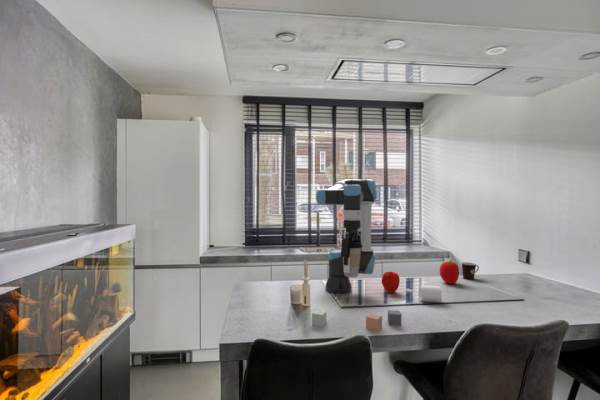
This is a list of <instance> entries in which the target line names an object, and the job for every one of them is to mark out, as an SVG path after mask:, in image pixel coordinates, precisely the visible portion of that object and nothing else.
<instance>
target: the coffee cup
mask: <svg viewBox="0 0 600 400" xmlns="http://www.w3.org/2000/svg"><path fill="white" fill-rule="evenodd" d="M349 245H350V246H349ZM340 247H342V243H341V245H340ZM348 248H350V254H349V258H350V273H346V272H344V274H345V276H347V277H349V278H357V277H358V276H359V273H358V269H359V263H360V254H361V253H360V251H361V248H362V245H361V242H359V241H357V242H353V243H348ZM343 265H344V257H343Z"/></svg>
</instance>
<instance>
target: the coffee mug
mask: <svg viewBox="0 0 600 400" xmlns="http://www.w3.org/2000/svg"><path fill="white" fill-rule="evenodd" d="M476 268H477V269H476ZM479 269H480V267H479V265H478V264H476V263H473V262H461V270H462V278H463V279H464V280H468V281H473V280H474V279H475V275H476V273H477V272H478V271H479Z"/></svg>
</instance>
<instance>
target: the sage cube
mask: <svg viewBox="0 0 600 400" xmlns="http://www.w3.org/2000/svg"><path fill="white" fill-rule="evenodd" d="M325 324H327V310H320V309H315V310H313V312H312V313H311V325H312V326H318V327H324V326H325Z"/></svg>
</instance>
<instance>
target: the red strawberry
mask: <svg viewBox="0 0 600 400" xmlns="http://www.w3.org/2000/svg"><path fill="white" fill-rule="evenodd" d="M439 275H440V278H441V279H442V281H443V282H445V283H446V284H449V285H454V284H456V283H457V282H458V280H459V276H460V269H459V265H458V264H457V263H456V262H454V261H451V260H449V261H444V262H442V263H441V265H440V266H439Z"/></svg>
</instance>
